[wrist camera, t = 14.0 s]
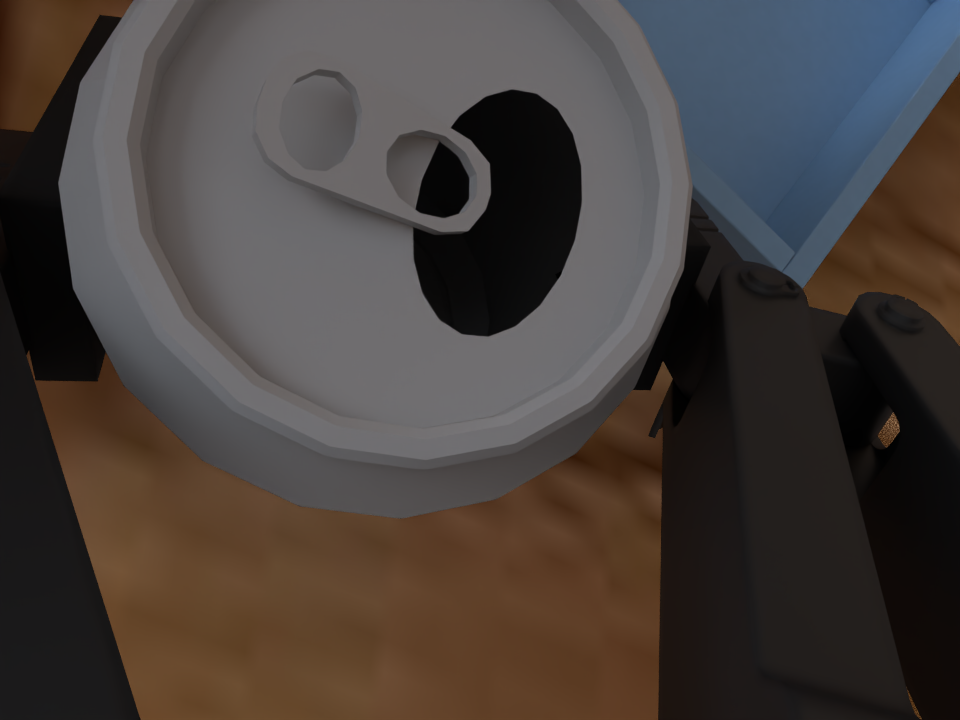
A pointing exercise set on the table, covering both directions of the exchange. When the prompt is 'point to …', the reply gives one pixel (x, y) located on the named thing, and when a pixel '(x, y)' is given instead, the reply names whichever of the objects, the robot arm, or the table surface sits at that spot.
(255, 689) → the table surface
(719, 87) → the tray
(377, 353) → the can
